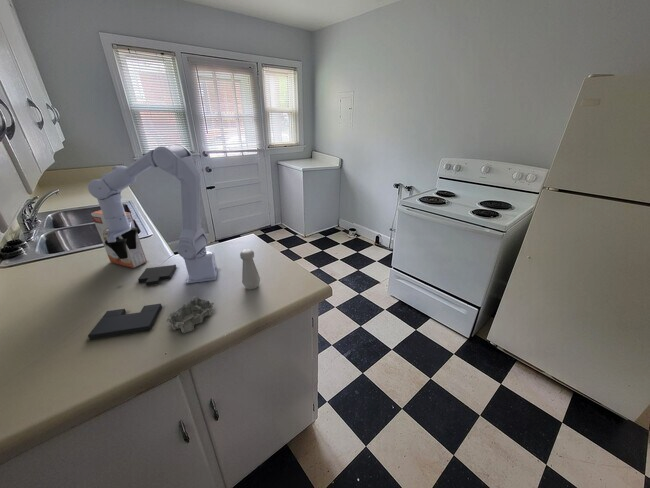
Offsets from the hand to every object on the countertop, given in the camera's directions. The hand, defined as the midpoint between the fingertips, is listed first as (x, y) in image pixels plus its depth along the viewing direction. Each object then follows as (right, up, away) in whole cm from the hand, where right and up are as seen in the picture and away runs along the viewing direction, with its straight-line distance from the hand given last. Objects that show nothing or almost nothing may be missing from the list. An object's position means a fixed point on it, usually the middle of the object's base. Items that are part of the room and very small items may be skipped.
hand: (128, 253), depth 93 cm
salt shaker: (+43, -11, -3) cm, 45 cm away
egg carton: (+31, -18, -18) cm, 40 cm away
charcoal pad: (+14, -18, -19) cm, 30 cm away
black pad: (+8, -9, +3) cm, 12 cm away
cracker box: (-10, -4, +14) cm, 18 cm away
